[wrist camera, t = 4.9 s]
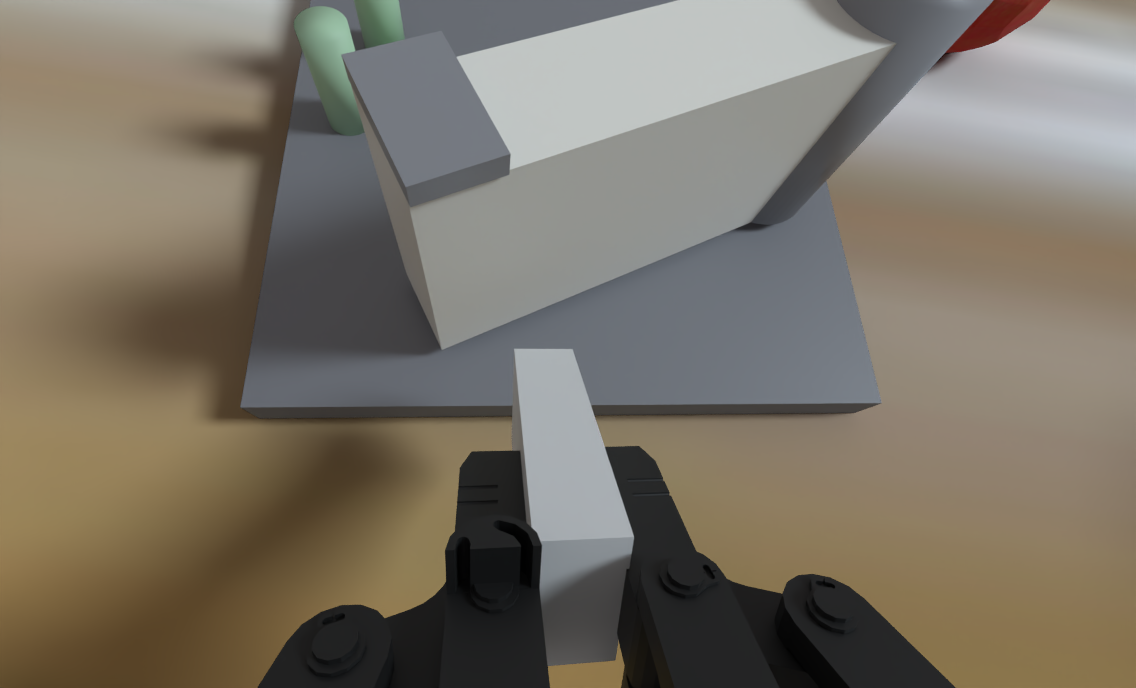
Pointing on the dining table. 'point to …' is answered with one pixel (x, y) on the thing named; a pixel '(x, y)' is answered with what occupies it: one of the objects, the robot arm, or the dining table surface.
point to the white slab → (623, 138)
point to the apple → (997, 23)
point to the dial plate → (581, 322)
